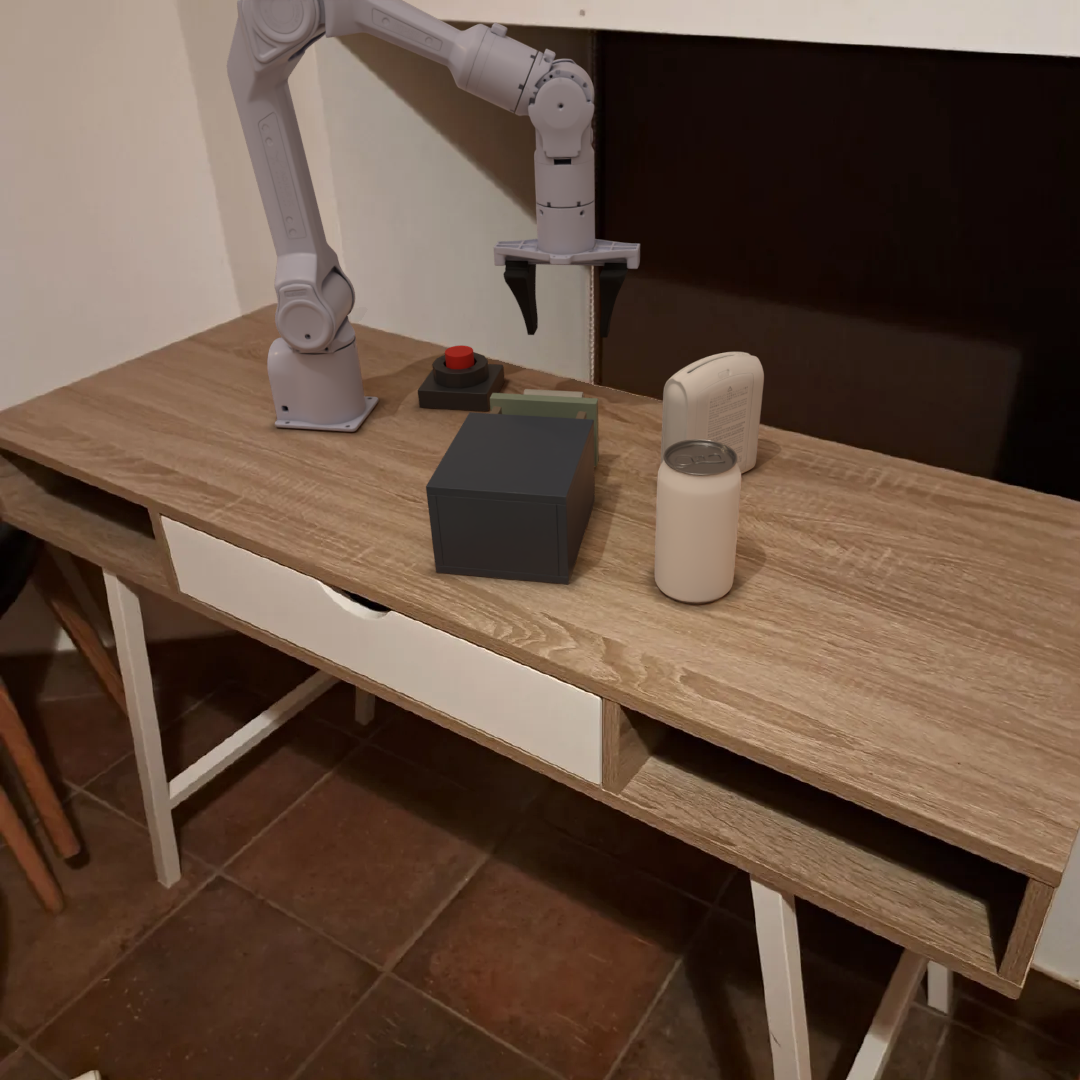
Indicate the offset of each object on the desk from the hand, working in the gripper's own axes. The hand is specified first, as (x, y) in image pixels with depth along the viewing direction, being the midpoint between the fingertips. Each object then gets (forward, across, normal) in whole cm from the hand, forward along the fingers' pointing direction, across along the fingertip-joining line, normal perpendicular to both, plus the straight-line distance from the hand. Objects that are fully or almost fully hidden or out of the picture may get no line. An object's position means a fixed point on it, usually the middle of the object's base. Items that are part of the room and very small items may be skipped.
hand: (568, 332), depth 106 cm
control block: (+10, -13, +4) cm, 17 cm away
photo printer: (+10, +16, -12) cm, 22 cm away
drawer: (+9, -1, -15) cm, 18 cm away
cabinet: (+10, -1, -24) cm, 26 cm away
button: (+6, -13, +4) cm, 15 cm away
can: (+10, +15, -30) cm, 35 cm away
